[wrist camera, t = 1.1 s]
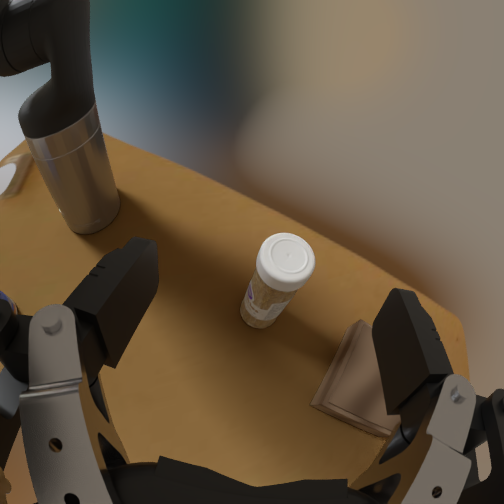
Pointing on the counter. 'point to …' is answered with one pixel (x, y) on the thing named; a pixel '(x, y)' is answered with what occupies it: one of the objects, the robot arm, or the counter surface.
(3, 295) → the pill bottle
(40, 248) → the counter surface
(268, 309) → the sprinkles bottle
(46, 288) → the counter surface
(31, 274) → the counter surface
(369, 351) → the walnut plinth
